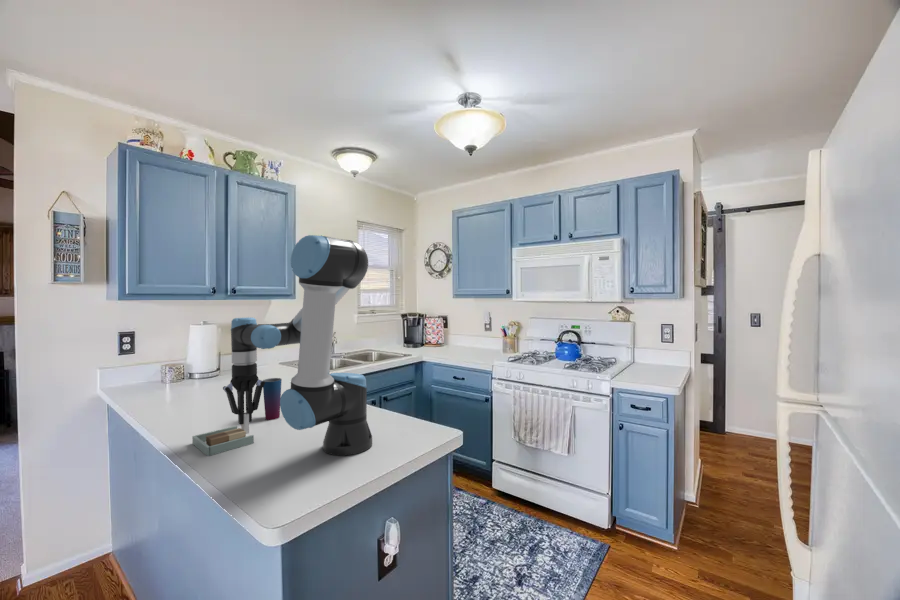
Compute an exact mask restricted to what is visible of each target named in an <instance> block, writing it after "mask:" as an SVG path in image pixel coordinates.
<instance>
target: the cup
mask: <svg viewBox="0 0 900 600" xmlns="http://www.w3.org/2000/svg"><path fill="white" fill-rule="evenodd" d="M262 381H265V385H264V386H263V388H262V391H263V405H264V416H265V417H264V418H265V420H267V421H269V420H270V421H272V420H277V419H279V418H280V414H281V407H280V399H281V395H282V378H280V377H269V378H264V379H263V380H262Z"/></svg>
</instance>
